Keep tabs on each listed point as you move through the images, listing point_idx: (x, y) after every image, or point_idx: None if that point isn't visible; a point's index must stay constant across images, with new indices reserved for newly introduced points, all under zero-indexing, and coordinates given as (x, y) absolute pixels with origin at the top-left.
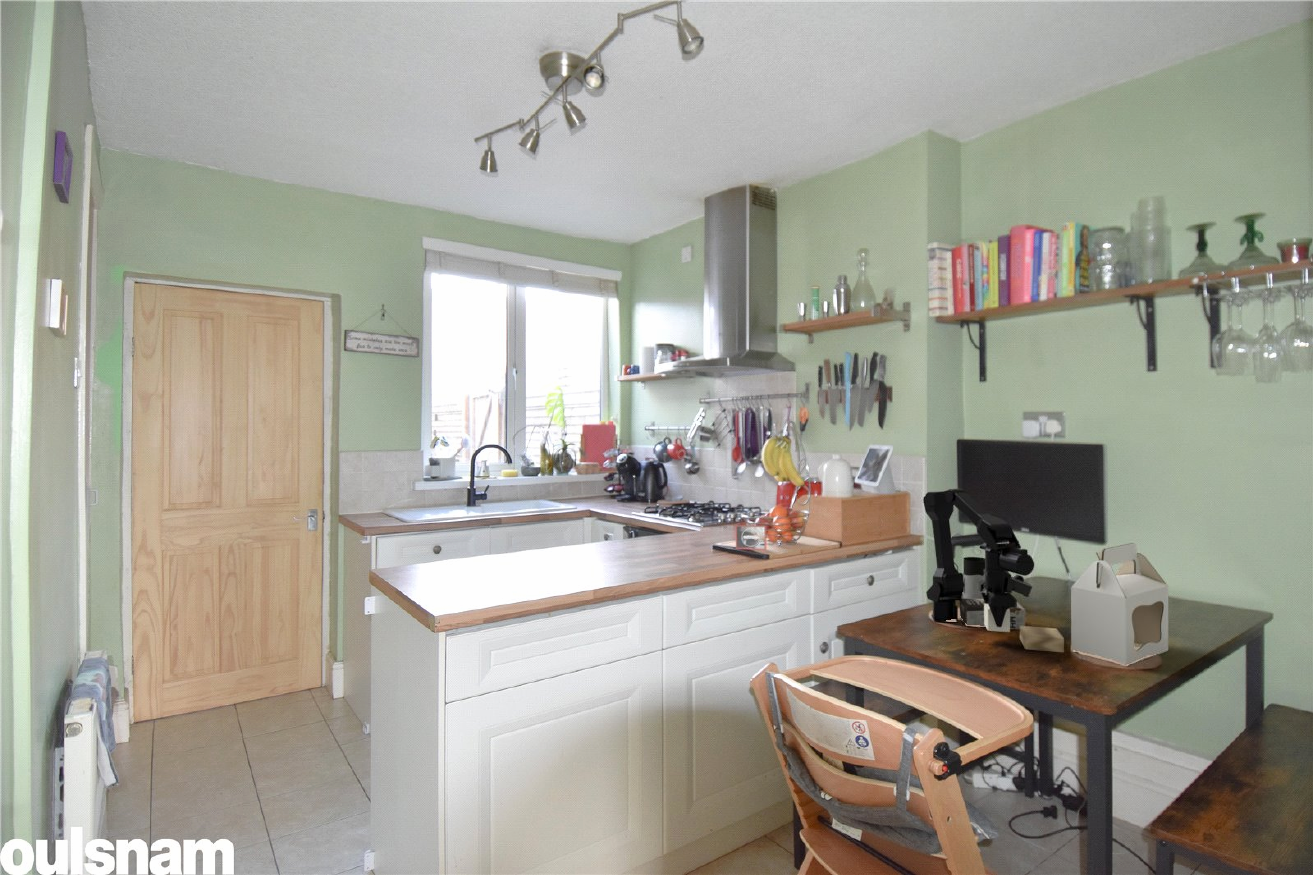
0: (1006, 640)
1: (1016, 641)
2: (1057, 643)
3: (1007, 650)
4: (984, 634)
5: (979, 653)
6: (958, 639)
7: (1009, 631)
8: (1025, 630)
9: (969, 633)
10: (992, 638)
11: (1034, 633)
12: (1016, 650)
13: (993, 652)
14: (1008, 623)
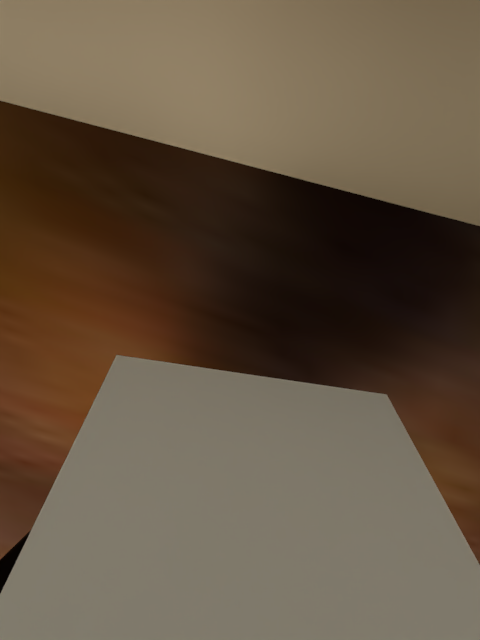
0: (164, 278)
1: (186, 188)
2: None
3: (447, 373)
4: (9, 400)
5: (475, 553)
6: None
7: (386, 403)
8: (277, 118)
9: (14, 492)
10: None
11: (461, 26)
12: (460, 302)
13: (473, 477)
14: (426, 499)
